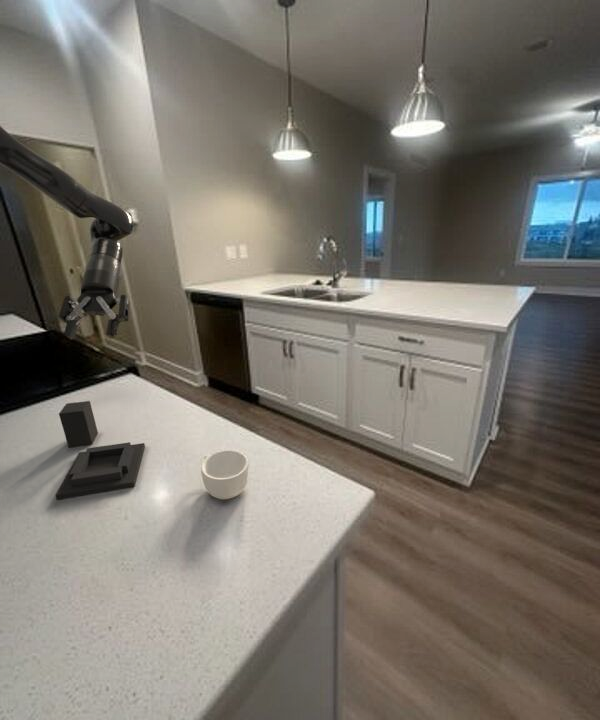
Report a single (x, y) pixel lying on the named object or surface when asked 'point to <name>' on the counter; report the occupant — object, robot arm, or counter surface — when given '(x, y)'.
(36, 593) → the counter surface
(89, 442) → the dark grey rectangular block
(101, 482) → the base pad
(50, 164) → the robot arm
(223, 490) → the teacup
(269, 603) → the counter surface
